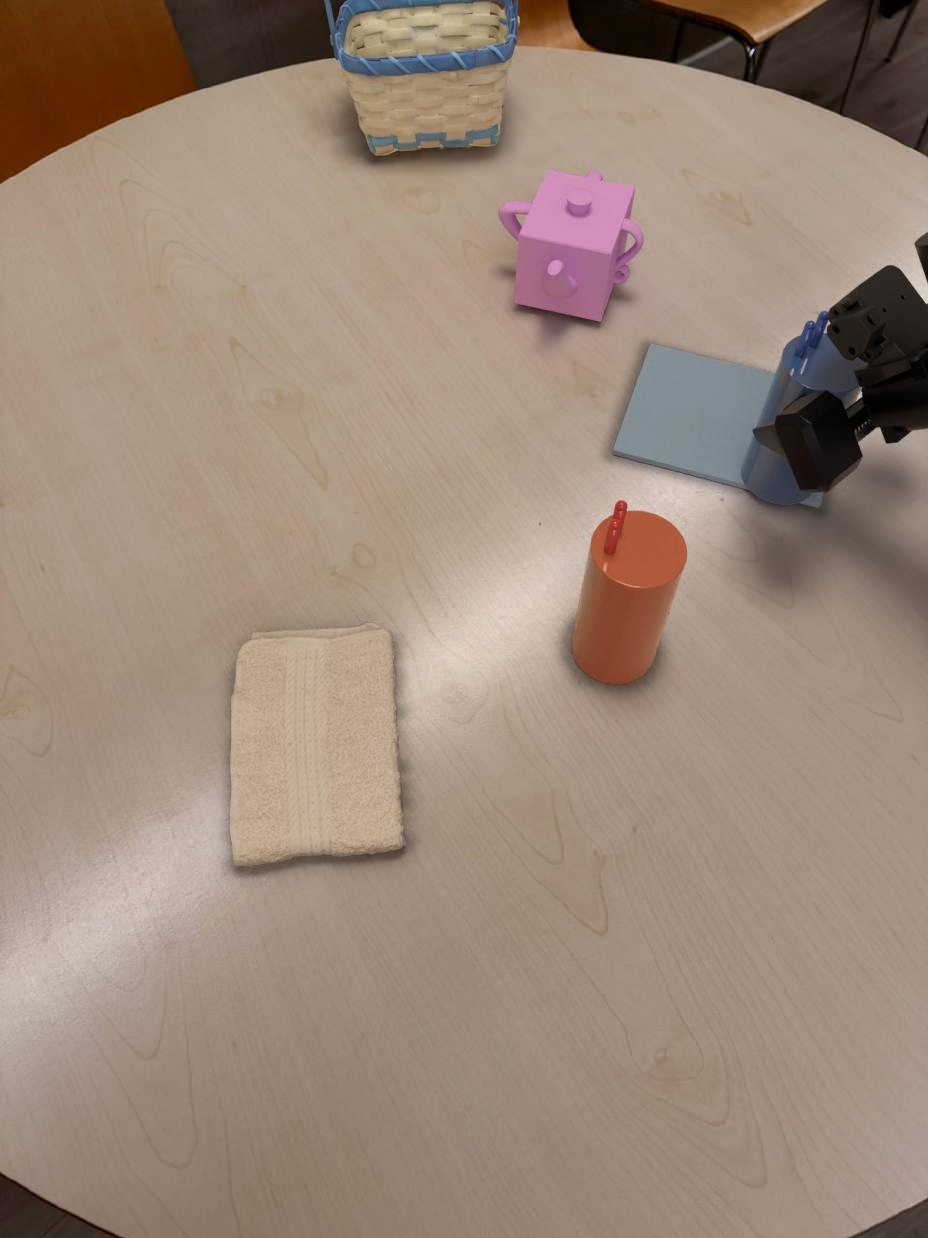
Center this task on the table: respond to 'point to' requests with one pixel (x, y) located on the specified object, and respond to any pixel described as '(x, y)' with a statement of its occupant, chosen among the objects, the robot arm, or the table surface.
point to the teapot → (572, 243)
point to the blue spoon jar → (799, 371)
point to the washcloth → (314, 746)
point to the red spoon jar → (626, 594)
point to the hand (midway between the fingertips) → (793, 406)
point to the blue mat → (695, 415)
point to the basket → (426, 69)
